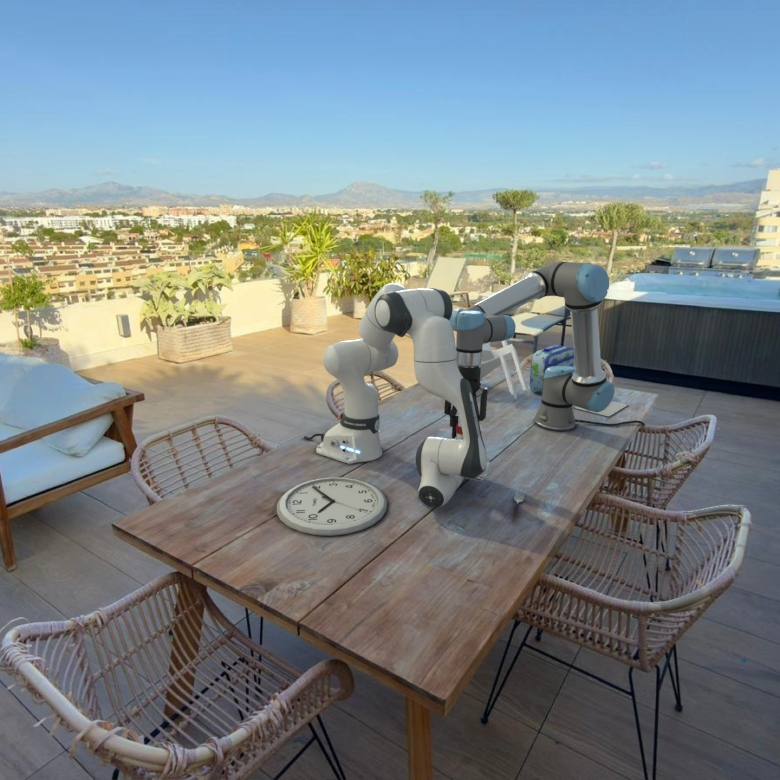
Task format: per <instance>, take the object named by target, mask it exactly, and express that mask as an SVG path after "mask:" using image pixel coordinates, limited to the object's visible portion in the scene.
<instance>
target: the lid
mask: <svg viewBox="0 0 780 780" xmlns="http://www.w3.org/2000/svg"><path fill="white" fill-rule="evenodd" d="M455 431H456V433H458V434H461V435H463V432H462V427H461V422H460V421H458V422H457V423H456V427H455Z"/></svg>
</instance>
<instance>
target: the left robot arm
mask: <svg viewBox="0 0 780 780" xmlns="http://www.w3.org/2000/svg"><path fill="white" fill-rule="evenodd" d="M453 307H454V306H453V300H452V298H451V296H450V295H449V293H448V292H447V291H445V290H443V289H440V288H435V287H432V288H411V289H407V288H405V287H404V286H403V285H401V284H399V283H395V282H393V283H392V282H391V283H387V284H385V285H383V286H382V287H381V288H380V289H379V290H378V291H377V293H376V294H375V295H374V296H373V298H372V299H371V301H370V303H369V304H368V306H367V308H366V310H365V312H364V313H363V315H362V317H361V319H360V321H359V323H358V335H359V336H360V338H358V339H350V340H349V339H348V340H342V341H338V342H335V343H332V344H330V345H328V346H326V348H325V349H324V352H323V354H322V363H323V367H324V368H325V371H326V372H327V373H328V374H329V375H330V376H332V377H334V378H335V380H337V381H338V383H339V384H340V386H341V389H342V392H343V403H344V411H342V412H341V413H340V414H339V415H338V416H337V420H340V421H339V422H338V423H336V424H335V425H334V426H332V427H331V428H329V429H327V430H326V431H323V432H321V433H315V434H313V435H312V436H309V437H308V436H305V435H304V437H303V439H305V440H307V441H310V440H313V439H314V438H315V437H320V441H321V443H320V444H318V445H317V446H316V449H315V453H316V454H318V455H321V456H324V457H326V458H330V459H332V460H336V461H339V462H342V463H344V464H347V465H352V464H356V463H363V462H364V463H365V462H371V461H375V460H378V459H380V458H381V457H382V455H383V454H384V452H383V449H382V445H381V440H380V427H381V426H380V425H381V423H380V422H381V419H380V417H381V416H380V412H379V392H378V390H377V388H376V387H375V386H374V385H372V384H371V383H368V382H366V381H365V380H366V379H365V374H369V373H375V372H381V371H384V370H387V369H389V368H392V367H393V366H395V365H396V364H397V362H398V359H399V348H398V346H397V344H396V342H395V341H394V339H395V337H396V336H397V337H399V338H403V337H405V336H406V334H407V335H408V336H409V337H410V338H411V340H412V343H413V368H414V376H415V379H416V382H417V383H418V384H419V386H420V387H421V388H422V389H424V390H425V391H426V392H428V393H430V394H431V395H433V396H436V397H438V398H441V399H443V400H444V401H445V400H447V401H448V402H450V403H451V405H452V406H453V405H454V406H455V408H456V409H457V414H458V416H459V417H458V418H459V422H461V427H462V432H463V437H464V439H456V438H454V439H453V438H452V437H444V436H427V437H425V438H424V439H423V440H422V441H421V443H420V444H419V445H418V447H417V449H416V452H415V467H416V470H417V472H418V475H419V476H420V483H419V486H418V490H417V493H418V494H417V495H418V498H419V500H420V501H421V502H422V503H423V505H425V506H427V507H429V508H434V509H435V508H436V509H439V508H441V507H443V506H446V504H447V503H448V502H449V501H450V500H451V499H452V497H453V496H454V495H455V493H456V491H457V490H458V489H459V488H460V486H461V484H462V483H463V481H464V480H465V479H467V480H472V481H477V482H482V481H484V480H486V479H487V478H488V476H490V474H491V470H492V463H491V462H490V461H489V460H488V454H487V449H486V446H485V442H484V438H483V436H482V430H481V425H480V421H479V420H478V415H477V410H476V405H475V400H474V396H473V392H472V388H471V385H470V383H469V381H468V380H466V379H464V378H463V377H462V375H461V373H460V371H459V369H458V366H457V356H456V344H455V339H456V338H455V333H454V332H455V331H453V328H452V324H451V323H450V321H449V320H450V318H451V316H452V311H453V310H454V309H453Z"/></svg>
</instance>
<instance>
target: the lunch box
mask: <svg viewBox="0 0 780 780" xmlns="http://www.w3.org/2000/svg"><path fill="white" fill-rule="evenodd" d="M574 365H575V359H574V348H573V347H571V346H570V347H568V346H563V345H551V346H548V347H544V348H543V349H539V350H536V351H535V352H534V354H533V356H532V358H531V363H530V374H529V391H532V392H536V393H540V394H542V391H543V380H544V379H543V378H544V375H545V370H546V369H547V368H549V367H555V366H570V367H574Z"/></svg>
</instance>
